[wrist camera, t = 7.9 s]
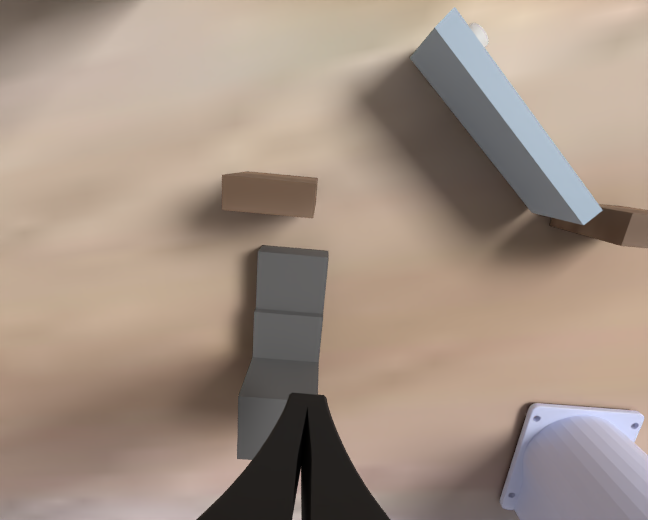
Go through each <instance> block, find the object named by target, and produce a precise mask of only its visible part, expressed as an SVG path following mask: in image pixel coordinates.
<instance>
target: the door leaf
mask: <svg viewBox="0 0 648 520" xmlns="http://www.w3.org/2000/svg"><path fill="white" fill-rule="evenodd" d="M487 45H488V36H487V34H486V32H485V30H484V29H483V28H482V27H481V26H480V25H479V24H477V23H471V24H469V25H468V24H467V23H466V22H465V20H464V19H463V18H462V16H461V15H460V13H459V12H458V11H457V9H456V8H455V7H454V8H453V9H452V10H451V11H450V12H449V13H448V14H447V15H446V17H445V18H444V19H443V20H442V21H441V22H440V23H439V24H438V25H437V26H436V27H435V28H434V29H433V30H432V31H431V33H430V34H429V35H428V36H427V37H426V39H425V40H424V41H423V42H422V43H421V45H420V46H419V47H418V48H417V50H416V51H415V52H414V53H413V54H412V56H411V57H410V59H411V60H412V61H413V63H414V64H415V65H416V67H417V68H418V69H419V70H420V72H421V73H422V74H423V75H424V77H425V78H426V79H427V80H428V82H429V83H430V84H431V86H432V87H433V88H434V89H435V91H436V92H437V93H438V94H439V96H440V97H441V98H442V99H443V101H444V102H445V103H446V105H447V106H448V107H449V108H450V110H451V111H452V112H453V113H454V115H455V116H456V117H457V118H458V120H459V121H460V122H461V124H462V125H463V126H464V127H465V129H466V130H467V131H468V132H469V134H470V135H471V136H472V137H473V139H474V140H475V141H476V143H477V144H478V145H479V146H480V148H481V149H482V150H483V151H484V153H485V154H486V155H487V156H488V158H489V159H490V160H491V162H492V163H493V164H494V165H495V167H496V168H497V169H498V170H499V172H500V173H501V174H502V175H503V177H504V178H505V179H506V181H507V182H508V183H509V184H510V186H511V187H512V188H513V189H514V191H515V192H516V193H517V194H518V196H519V197H520V198H521V200H522V201H523V202H524V203H525V205H526V206H527V207H528V208H529V210H530V211H531V212H532V213H535V214H539V215H543V216H548V217H552V218H556V219H560V220H564V221H568V222H572V223H576V224H580V225H585V224H586V223H587V222H589V221H590V220H591V219H592V218H594V217H595V216H596V215H597V214H599V213H600V212H601V211H603V210H602V209H601V207H600V206H599V204H598V203H597V202H596V200H595V199H594V198H593V196H592V195H591V193H590V192H589V191H588V189H587V188H586V187H585V185H584V184H583V182H582V181H581V180H580V178H579V177H578V176H577V174H576V173H575V171H574V170H573V169H572V167H571V166H570V165H569V163H568V162H567V160H566V159H565V158H564V156H563V155H562V154H561V152H560V151H559V149H558V148H557V147H556V145H555V144H554V143H553V141H552V140H551V138H550V137H549V136H548V134H547V133H546V132H545V130H544V129H543V127H542V126H541V125H540V123H539V122H538V121H537V119H536V118H535V116H534V115H533V114H532V112H531V111H530V110H529V108H528V107H527V105H526V104H525V103H524V101H523V100H522V99H521V97H520V96H519V94H518V93H517V92H516V90H515V89H514V88H513V86H512V85H511V84H510V82H509V81H508V79H507V78H506V77H505V75H504V74H503V73H502V71H501V70H500V68H499V67H498V66H497V64H496V63H495V62H494V60H493V59H492V57H491V56H490V55H489V53H488V52H487V51H486V49H485V47H486V46H487Z"/></svg>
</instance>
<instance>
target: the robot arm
mask: <svg viewBox="0 0 648 520" xmlns="http://www.w3.org/2000/svg"><path fill="white" fill-rule="evenodd" d="M535 416H536V417H535ZM643 421H644V416H643V415H642V414H641V413H639V412H638V411H634V410H621V409H608V408H595V407H582V406H568V405H555V404H542V403H534V404H532V405H531V406H530V407H529V409H528V412H527V415H526V419H525V422H524V425H523V428H522V431H521V434H520V438H519V441H518V444H517V447H516V450H515V453H514V457H513V460H512V463H511V466H510V469H509V472H508V476H507V479H506V482H505V485H504V488H503V491H502V495H501V498H500V504H501V506H502V508H504V509H506V510H515V512H516V514H517V516H518V518H519V519H520V520H648V455H647V454H646V453H645V452H644V451H643V450H642V449H640V448H639V447H638V446H637V445H636V444H635V443H634V442H635V439H636V437H637V435H638V433H639V430H640V428H641V426H642V423H643ZM300 469H301V503H302V520H390V519H389V517H388V516H387V515H386V513H385V512H384V511H383V509H382V508H381V507H380V505H379V504H378V503H377V501H376V500H375V499H374V497H373V496H372V495H371V493H370V491H369V490H368V488H367V487H366V485H365V484H364V482H363V481H362V479H361V477H360V476H359V474H358V472H357V471H356V469H355V467H354V465H353V464H352V462H351V460H350V458H349V456H348V454H347V452H346V450H345V448H344V446H343V444H342V442H341V439H340V437H339V435H338V432H337V430H336V428H335V425H334V422H333V420H332V417H331V414H330V411H329V407H328V403H327V398H326V397H325V396H324V395H315V394H304V393H293V392H292V393H291V394H289V397H288V400H287V403H286V405H285V408H284V410H283V412H282V414H281V416H280V418H279V420H278V421H277V423H276V425H275V427H274V428H273V430H272V432H271V433H270V435H269V437H268V438H267V440H266V441H265V443H264V444H263V446H262V447H261V449H260V450H259V452H258V453H257V454H256V456H255V457H254V458H253V460H252V461H251V462H250V464H249V465H248V466H247V467H246V469H245V470H244V471H243V472H242V473H241V475H240V476H239V477H238V478H237V479H236V480H235V481H234V483H233V484H232V485H231V486H230V487H229V488H228V489H227V490H226V491H225V493H224V494H223V495H222V496H221V497H220V498H219V499H218V500H216V501H215V502H214V503H213V504H212V505H211V506H210V507H209V508H208V509H207V510H206V511H205V512H204V513H203V514H202V515H201V516H200V517H199V518H198V519H197V520H292V516H293V510H294V504H295V498H296V493H297V487H298V481H299V475H300Z"/></svg>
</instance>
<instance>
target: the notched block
mask: <svg viewBox="0 0 648 520" xmlns="http://www.w3.org/2000/svg"><path fill="white" fill-rule="evenodd" d="M327 268H328V251H324V250H312V249H301V248H289V247H278V246H266V245H262V247H261V248H260V249H259V251H258V263H257V291H256V309H255V311H254V332H253V358H252V360H251V363H250V366H249V369H248V371H247V374H246V377H245V380H244V382H243V385H242V388H241V391H240V393H239V396H238V440H237V459H248V460H253V458H254V457H255V456H256V454H257V453H258V452H259V450H260V449H261V447H262V446H263V444H264V443H265V441H266V440H267V438H268V437H269V435H270V433H271V432H272V430H273V428H274V427H275V425H276V423H277V421H278V420H279V418H280V416H281V414H282V412H283V410H284V408H285V405H286V403H287V400H288V397H289V394H291V393H292V392H293V393H304V394H315V395H318V364H319V353H320V343H321V332H322V322H323V309H324V298H325V288H326V278H327Z"/></svg>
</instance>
